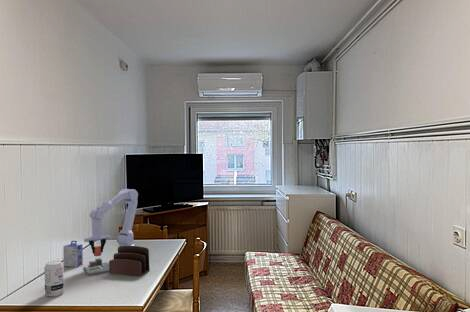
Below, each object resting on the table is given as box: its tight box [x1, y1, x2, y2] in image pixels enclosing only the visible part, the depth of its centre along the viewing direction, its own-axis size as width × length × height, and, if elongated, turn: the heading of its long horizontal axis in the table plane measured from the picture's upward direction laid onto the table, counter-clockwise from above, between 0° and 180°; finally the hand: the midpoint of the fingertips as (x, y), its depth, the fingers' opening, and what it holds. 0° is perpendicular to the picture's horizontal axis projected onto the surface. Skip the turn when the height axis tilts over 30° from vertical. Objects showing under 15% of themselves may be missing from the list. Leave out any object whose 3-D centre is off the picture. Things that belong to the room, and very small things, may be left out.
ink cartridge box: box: [62, 240, 84, 268], centre depth 234 cm, size 10×6×14 cm, turn 78°
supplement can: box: [43, 260, 65, 297], centre depth 186 cm, size 8×8×15 cm
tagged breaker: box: [88, 260, 96, 267], centre depth 225 cm, size 3×4×3 cm
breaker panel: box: [83, 262, 109, 277], centre depth 224 cm, size 13×17×2 cm
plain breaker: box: [94, 257, 103, 265], centre depth 230 cm, size 3×4×3 cm
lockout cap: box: [93, 245, 102, 257], centre depth 229 cm, size 4×4×5 cm
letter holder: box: [108, 245, 151, 277], centre depth 218 cm, size 10×20×14 cm, turn 75°
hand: (97, 252), depth 229 cm, fingers closed on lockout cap, 4 cm apart
